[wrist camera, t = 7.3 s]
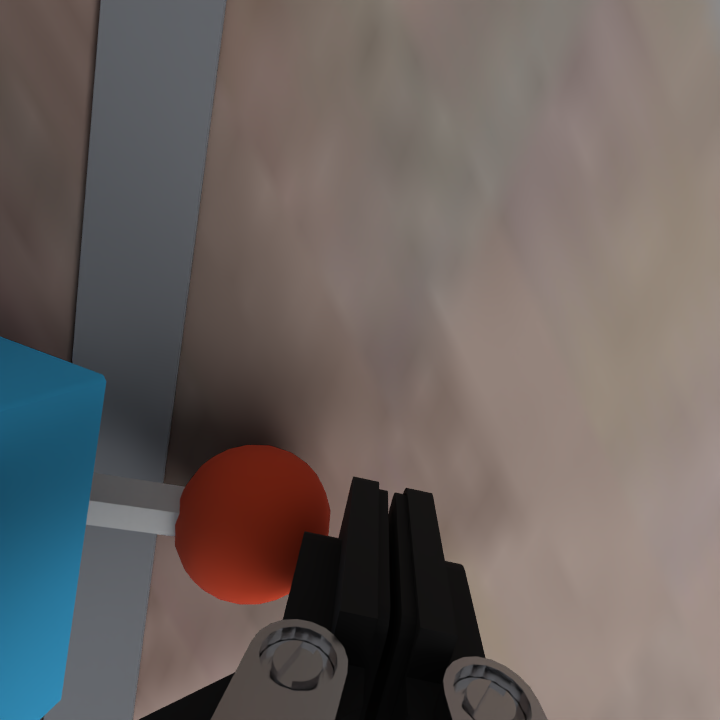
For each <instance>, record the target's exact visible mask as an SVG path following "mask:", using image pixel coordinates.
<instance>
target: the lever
mask: <svg viewBox="0 0 720 720" xmlns="http://www.w3.org/2000/svg"><path fill="white" fill-rule="evenodd" d="M105 387H106V379H105V377H104V375H102V374H100V373H97V372H94V371H92V370H89V369H86V368H84V367H81V366H78V365H75V364H73V363H70V362H67V361H65V360H62V359H59V358H57V357H54V356H51V355H49V354H46V353H43V352H41V351H38V350H35V349H32V348H30V347H27V346H24V345H22V344H19V343H16V342H14V341H11V340H8V339H6V338H3V337H0V720H40V719H41V718H42V717H43V716H44V715H45V714H46V713H47V712H48V711H50V710H51V709H52V708H53V707H54V706H55V705H56V704H57V703H58V702H59V701H60V700H61V697H62V690H63V683H64V676H65V669H66V662H67V655H68V648H69V641H70V634H71V626H72V619H73V612H74V605H75V598H76V591H77V584H78V577H79V570H80V563H81V556H82V549H83V542H84V535H85V528H86V525H93V526H101V527H108V528H116V529H123V530H131V531H138V532H146V533H153V534H161V535H168V536H175V547H176V549H177V552H178V554H179V557H180V560H181V562H182V564H183V567H184V569H185V571H186V572H187V573H188V575H189V576H190V578H191V579H192V580H193V581H194V582H195V583H196V584H197V585H198V586H199V587H200V588H201V589H203V590H204V591H206V592H207V593H209V594H211V595H213V596H215V597H216V598H218V599H220V600H224V601H228V602H232V603H236V604H261V603H265V602H269V601H273V600H277V599H279V598H281V597H283V596H285V595H287V594H289V593H290V589H291V584H292V580H293V576H294V572H295V568H296V564H297V560H298V556H299V551H300V547H301V543H302V539H303V535H304V531H306V532H311V533H316V534H320V535H325V536H328V533H329V521H330V507H329V503H328V499H327V496H326V492H325V490H324V488H323V486H322V484H321V482H320V480H319V478H318V476H317V474H316V473H315V472H314V471H313V470H312V469H311V468H310V466H309V465H308V464H307V463H305V462H304V461H303V460H301V459H300V458H298V457H297V456H296V455H294V454H293V453H291V452H288V451H285V450H282V449H279V448H276V447H273V446H270V445H244V446H240V447H236V448H231V449H228V450H226V451H224V452H222V453H220V454H217V455H216V456H214V457H212V458H211V459H210V460H208V461H207V462H206V463H204V464H203V465H202V466H201V467H200V468H199V469H198V471H197V472H196V473H195V474H194V476H193V477H192V478H191V479H190V481H189V482H188V484H187V485H186V486H185V487H184V486H178V485H171V484H165V483H158V482H151V481H145V480H138V479H131V478H125V477H118V476H112V475H105V474H98V473H93V472H94V465H95V458H96V451H97V444H98V437H99V430H100V423H101V416H102V409H103V401H104V394H105Z"/></svg>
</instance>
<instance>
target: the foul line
mask: <svg viewBox="0 0 720 720" xmlns="http://www.w3.org/2000/svg"><path fill="white" fill-rule="evenodd" d="M225 8H226V0H101V4H100V17H99V29H98V42H97V55H96V67H95V80H94V92H93V105H92V118H91V130H90V143H89V155H88V168H87V181H86V193H85V206H84V218H83V231H82V244H81V256H80V269H79V281H78V294H77V307H76V319H75V332H74V344H73V357H72V363H73V364H75V365H78V366H81V367H84V368H86V369H89V370H92V371H94V372H97V373H100V374H102V375H104V377H105V379H106V387H105V394H104V401H103V409H102V416H101V423H100V430H99V437H98V444H97V451H96V458H95V465H94V472H93V473H98V474H105V475H112V476H118V477H125V478H131V479H138V480H145V481H151V482H158V483H164V476H165V468H166V461H167V453H168V445H169V438H170V430H171V422H172V415H173V407H174V399H175V392H176V384H177V376H178V368H179V361H180V353H181V345H182V338H183V330H184V322H185V315H186V307H187V299H188V292H189V284H190V276H191V269H192V261H193V253H194V246H195V238H196V230H197V223H198V215H199V207H200V200H201V192H202V184H203V177H204V169H205V161H206V153H207V146H208V138H209V130H210V123H211V115H212V107H213V100H214V92H215V84H216V77H217V69H218V61H219V54H220V46H221V38H222V31H223V23H224V15H225ZM156 537H157V534H153V533H146V532H138V531H131V530H123V529H116V528H108V527H101V526H93V525H86V528H85V535H84V542H83V549H82V556H81V563H80V570H79V577H78V584H77V591H76V598H75V605H74V612H73V619H72V626H71V634H70V641H69V648H68V655H67V662H66V669H65V676H64V683H63V690H62V697H61V700H60V701H59V702H58V703H57V704H56V705H55V706H54V707H53V708H52V709H51V710H50V711H48V712H47V713H46V714H45V715H44V720H133V714H134V706H135V699H136V691H137V683H138V676H139V668H140V660H141V653H142V645H143V637H144V630H145V622H146V614H147V607H148V599H149V591H150V584H151V576H152V568H153V560H154V553H155V545H156Z"/></svg>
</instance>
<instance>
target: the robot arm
mask: <svg viewBox="0 0 720 720" xmlns="http://www.w3.org/2000/svg"><path fill="white" fill-rule="evenodd" d="M139 720H547V718H546V715H545V713H544V711H543V709H542V707H541V705H540V703H539V701H538V699H537V697H536V696H535V694H534V693H533V691H532V690H531V688H530V687H529V686H528V685H527V684H526V683H525V682H524V680H523V679H522V678H521V677H520V676H519V675H517V674H516V673H514V672H513V671H512V670H510V669H509V668H507V667H506V666H504V665H502V664H500V663H497V662H495V661H493V660H491V659H486V658H485V654H484V650H483V646H482V642H481V637H480V633H479V629H478V624H477V620H476V616H475V612H474V607H473V603H472V599H471V594H470V590H469V586H468V582H467V577H466V573H465V570H464V567H463V566H462V565H461V564H457V563H452V562H448V561H445V560H444V554H443V549H442V543H441V538H440V532H439V527H438V521H437V516H436V510H435V505H434V499H433V495H432V493H428V492H423V491H418V490H414V489H409V488H406V489H405V490H404V493H403V494H399V493H394V496H393V499H392V502H391V506H390V510H389V514H388V491H385V490H381V489H379V482H376V481H372V480H367V479H363V478H358V477H353V479H352V483H351V487H350V491H349V496H348V500H347V504H346V508H345V513H344V517H343V521H342V525H341V530H340V534H339V538H335V537H330V536H325V535H320V534H316V533H311V532H306V531H304V535H303V539H302V543H301V547H300V551H299V556H298V560H297V564H296V568H295V572H294V576H293V580H292V584H291V589H290V593H289V597H288V601H287V605H286V609H285V613H284V617H283V620H281V621H278V622H274V623H271V624H269V625H268V626H266V627H264V628H263V629H261V630H260V631H259V632H258V633H257V634H256V636H255V637H254V638H253V640H252V641H251V643H250V645H249V647H248V649H247V651H246V652H245V654H244V656H243V658H242V660H241V662H240V664H239V666H238V668H237V670H236V672H235V673H233V674H231V675H229V676H227V677H225V678H223V679H220V680H218V681H216V682H214V683H212V684H210V685H208V686H206V687H204V688H202V689H200V690H198V691H196V692H194V693H192V694H190V695H188V696H186V697H184V698H182V699H180V700H178V701H176V702H174V703H172V704H170V705H168V706H166V707H163V708H161V709H159V710H157V711H155V712H153V713H151V714H149V715H147V716H145V717H143V718H141V719H139Z"/></svg>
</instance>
